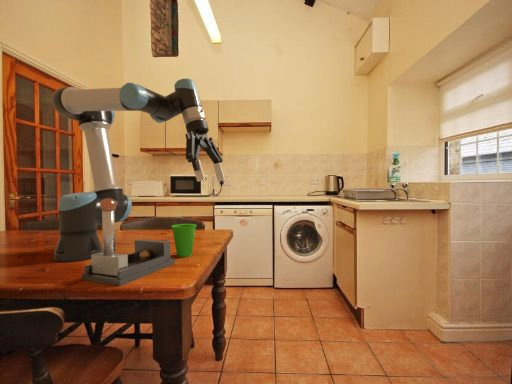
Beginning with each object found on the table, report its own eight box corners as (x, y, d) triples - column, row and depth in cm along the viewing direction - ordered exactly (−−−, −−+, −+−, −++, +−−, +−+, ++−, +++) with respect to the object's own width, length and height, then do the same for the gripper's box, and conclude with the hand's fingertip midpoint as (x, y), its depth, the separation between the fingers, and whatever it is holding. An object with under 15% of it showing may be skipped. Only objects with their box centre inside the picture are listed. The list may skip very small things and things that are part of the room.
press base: (120, 285, 72) (119, 256, 71) (81, 279, 77) (81, 252, 77) (174, 263, 92) (174, 240, 92) (141, 259, 97) (141, 238, 97)
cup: (200, 252, 107) (199, 223, 106) (192, 258, 98) (191, 227, 97) (177, 252, 107) (176, 223, 107) (167, 258, 98) (166, 227, 98)
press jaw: (117, 276, 73) (115, 198, 73) (90, 272, 77) (88, 198, 76) (129, 272, 77) (127, 197, 77) (102, 268, 81) (101, 197, 80)
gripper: (182, 110, 86) (201, 176, 84) (221, 125, 109) (236, 177, 107) (163, 119, 88) (181, 183, 87) (205, 132, 112) (220, 183, 110)
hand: (212, 180), depth 97 cm, fingers open, 13 cm apart
